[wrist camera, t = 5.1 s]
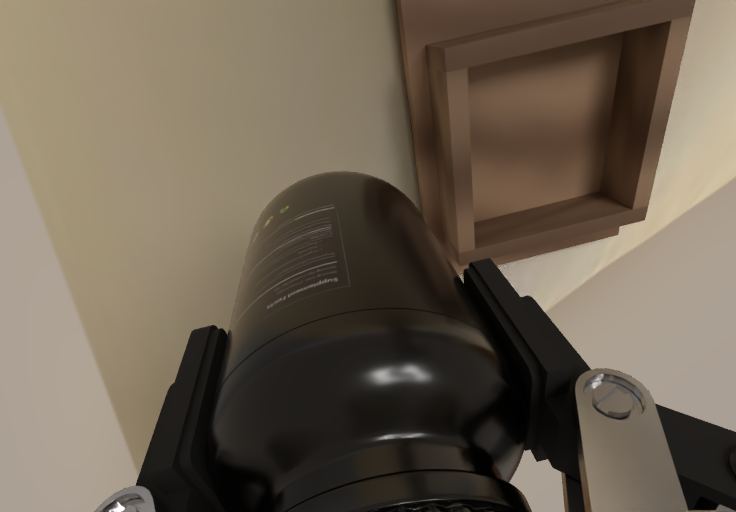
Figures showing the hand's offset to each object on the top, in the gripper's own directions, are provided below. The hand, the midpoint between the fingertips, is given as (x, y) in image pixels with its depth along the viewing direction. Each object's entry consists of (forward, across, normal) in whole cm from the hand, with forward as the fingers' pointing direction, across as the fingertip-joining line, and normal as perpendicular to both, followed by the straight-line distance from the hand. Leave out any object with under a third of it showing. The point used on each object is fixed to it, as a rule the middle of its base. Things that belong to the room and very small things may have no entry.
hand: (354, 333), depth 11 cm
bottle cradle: (+15, -12, +1) cm, 19 cm away
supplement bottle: (+5, 0, 0) cm, 5 cm away
